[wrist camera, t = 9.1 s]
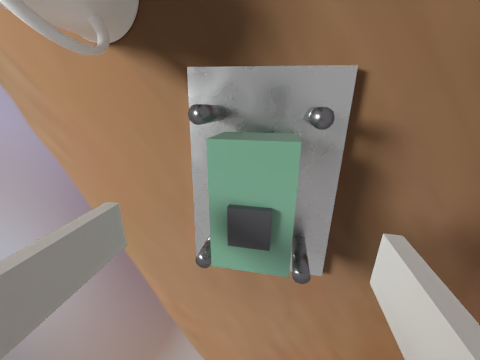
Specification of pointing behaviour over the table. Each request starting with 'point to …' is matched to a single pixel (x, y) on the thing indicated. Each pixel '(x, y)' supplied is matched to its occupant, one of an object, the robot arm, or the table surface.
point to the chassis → (276, 121)
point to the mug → (77, 20)
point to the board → (252, 200)
